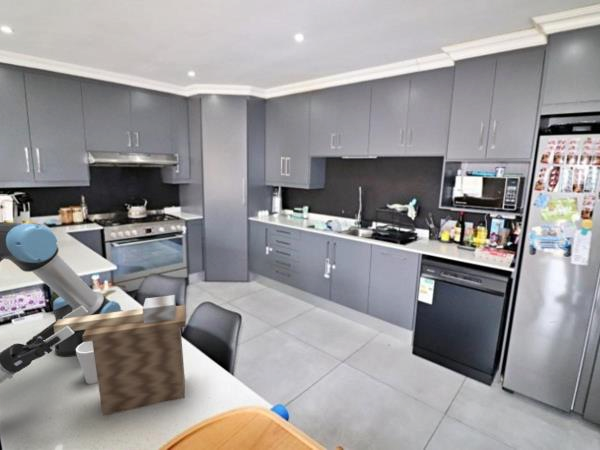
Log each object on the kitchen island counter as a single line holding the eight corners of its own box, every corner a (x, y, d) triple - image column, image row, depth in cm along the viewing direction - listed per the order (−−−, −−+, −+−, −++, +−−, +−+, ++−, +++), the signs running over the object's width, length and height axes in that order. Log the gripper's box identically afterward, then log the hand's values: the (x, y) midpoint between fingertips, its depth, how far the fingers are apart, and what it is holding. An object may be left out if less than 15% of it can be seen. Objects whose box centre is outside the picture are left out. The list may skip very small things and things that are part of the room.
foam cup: (78, 389, 112) (73, 356, 109) (82, 374, 120) (77, 342, 118) (110, 381, 116) (106, 348, 114) (111, 366, 124) (107, 336, 122)
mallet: (52, 337, 93) (49, 321, 92) (62, 323, 101) (59, 308, 100) (175, 319, 104) (173, 304, 103) (175, 308, 111) (174, 294, 110)
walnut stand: (94, 419, 99) (82, 335, 94) (103, 393, 111) (93, 317, 105) (190, 398, 108) (185, 320, 103) (190, 375, 119) (185, 304, 114)
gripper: (37, 347, 107) (97, 309, 111) (-4, 399, 84) (73, 349, 88) (20, 331, 105) (82, 293, 108) (-28, 380, 82) (53, 330, 85)
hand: (78, 318), depth 98 cm, fingers open, 13 cm apart
